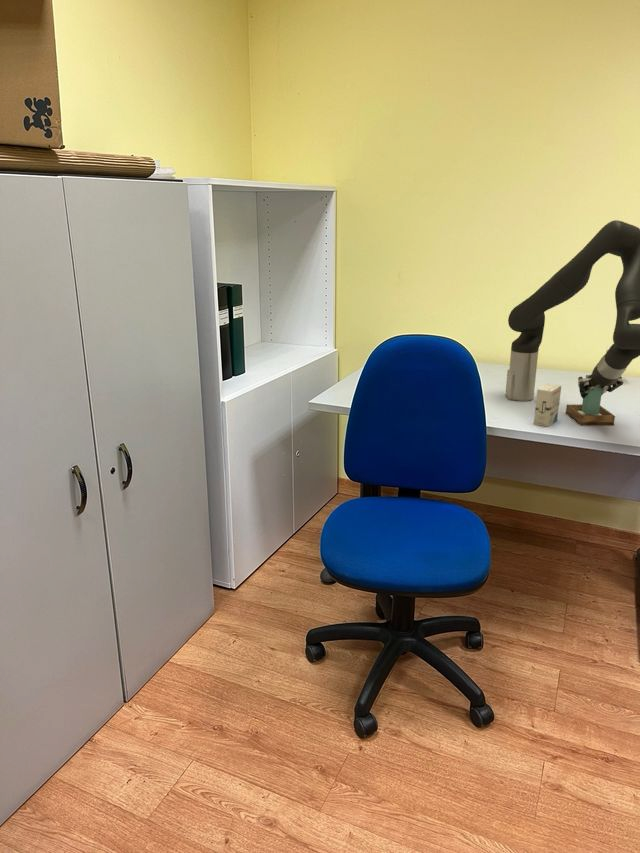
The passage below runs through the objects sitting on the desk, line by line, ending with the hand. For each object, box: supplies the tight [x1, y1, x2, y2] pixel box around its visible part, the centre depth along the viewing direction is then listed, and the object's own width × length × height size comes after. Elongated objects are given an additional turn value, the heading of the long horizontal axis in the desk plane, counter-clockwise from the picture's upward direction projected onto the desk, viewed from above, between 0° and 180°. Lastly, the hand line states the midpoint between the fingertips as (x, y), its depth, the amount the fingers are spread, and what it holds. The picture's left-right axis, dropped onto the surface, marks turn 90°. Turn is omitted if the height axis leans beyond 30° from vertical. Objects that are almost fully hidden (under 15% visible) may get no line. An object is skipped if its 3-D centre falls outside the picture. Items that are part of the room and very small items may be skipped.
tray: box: [565, 403, 616, 426], centre depth 207 cm, size 11×13×3 cm
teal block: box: [581, 374, 602, 414], centre depth 205 cm, size 4×4×12 cm
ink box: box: [533, 383, 562, 427], centre depth 203 cm, size 9×5×12 cm, turn 141°
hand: (589, 395), depth 207 cm, fingers closed on teal block, 4 cm apart
